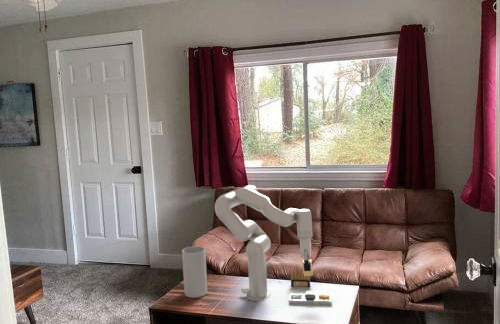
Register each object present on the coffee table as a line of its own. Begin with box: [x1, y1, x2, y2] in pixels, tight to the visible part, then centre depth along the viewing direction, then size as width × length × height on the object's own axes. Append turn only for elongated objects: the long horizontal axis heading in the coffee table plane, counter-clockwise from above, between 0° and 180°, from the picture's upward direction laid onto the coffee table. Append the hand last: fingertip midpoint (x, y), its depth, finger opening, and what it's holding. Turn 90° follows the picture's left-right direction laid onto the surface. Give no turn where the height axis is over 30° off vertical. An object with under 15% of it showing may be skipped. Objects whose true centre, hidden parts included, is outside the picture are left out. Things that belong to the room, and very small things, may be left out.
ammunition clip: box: [290, 266, 311, 288], centre depth 238 cm, size 11×2×12 cm, turn 81°
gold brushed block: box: [302, 259, 314, 277], centre depth 217 cm, size 4×4×7 cm
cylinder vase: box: [181, 245, 208, 299], centre depth 235 cm, size 12×12×25 cm
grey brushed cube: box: [305, 290, 315, 300], centre depth 219 cm, size 4×4×4 cm
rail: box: [288, 293, 332, 306], centre depth 219 cm, size 21×8×3 cm, turn 81°
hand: (307, 268), depth 217 cm, fingers closed on gold brushed block, 4 cm apart
